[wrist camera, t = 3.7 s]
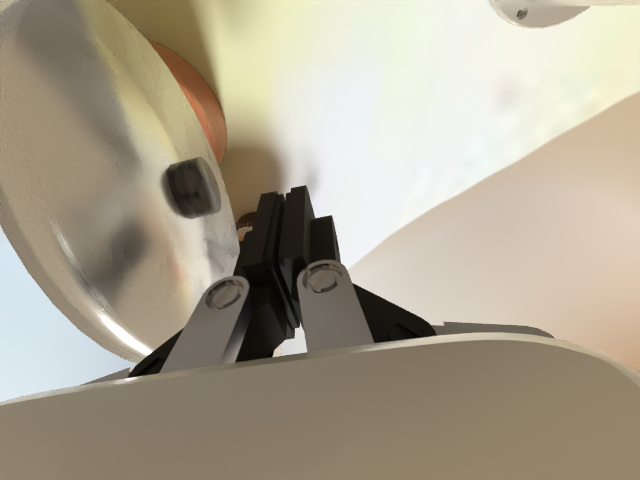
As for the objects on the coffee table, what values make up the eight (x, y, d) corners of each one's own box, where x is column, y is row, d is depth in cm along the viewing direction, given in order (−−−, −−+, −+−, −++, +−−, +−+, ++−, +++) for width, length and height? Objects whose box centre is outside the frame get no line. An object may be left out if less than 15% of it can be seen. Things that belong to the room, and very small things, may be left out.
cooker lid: (123, 6, 18) (169, -6, 18) (232, 233, 28) (261, 226, 28) (-364, -54, 4) (-158, -107, 4) (201, 435, 14) (259, 421, 14)
